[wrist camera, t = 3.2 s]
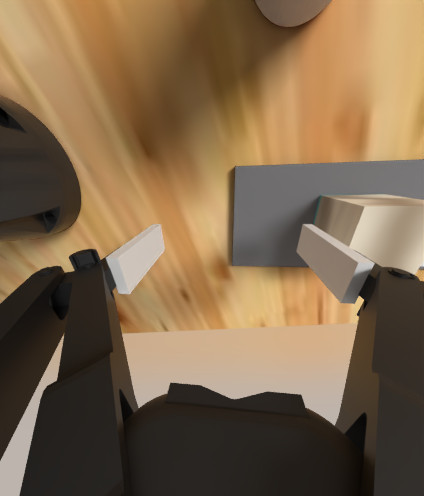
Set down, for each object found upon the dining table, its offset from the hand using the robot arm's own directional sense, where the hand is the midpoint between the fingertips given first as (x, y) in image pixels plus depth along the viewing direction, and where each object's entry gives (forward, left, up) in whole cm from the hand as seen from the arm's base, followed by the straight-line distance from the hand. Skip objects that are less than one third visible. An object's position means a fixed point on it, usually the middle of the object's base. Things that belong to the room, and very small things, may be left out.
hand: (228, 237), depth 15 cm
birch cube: (+13, 0, -4) cm, 13 cm away
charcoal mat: (+16, 0, -5) cm, 17 cm away
